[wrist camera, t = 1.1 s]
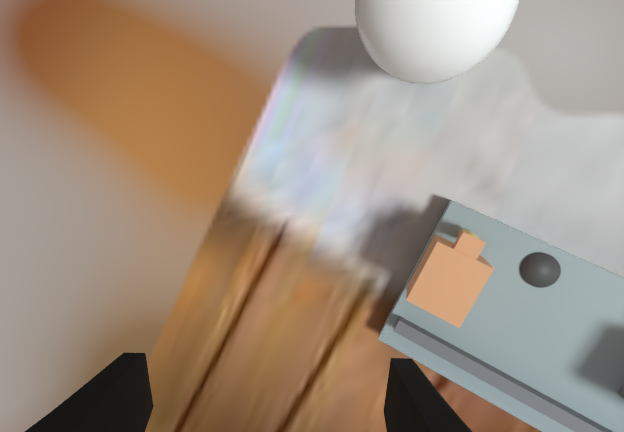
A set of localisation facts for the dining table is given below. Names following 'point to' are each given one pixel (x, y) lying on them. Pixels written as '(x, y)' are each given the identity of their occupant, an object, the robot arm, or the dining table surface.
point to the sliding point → (450, 277)
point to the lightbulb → (431, 35)
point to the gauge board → (526, 331)
